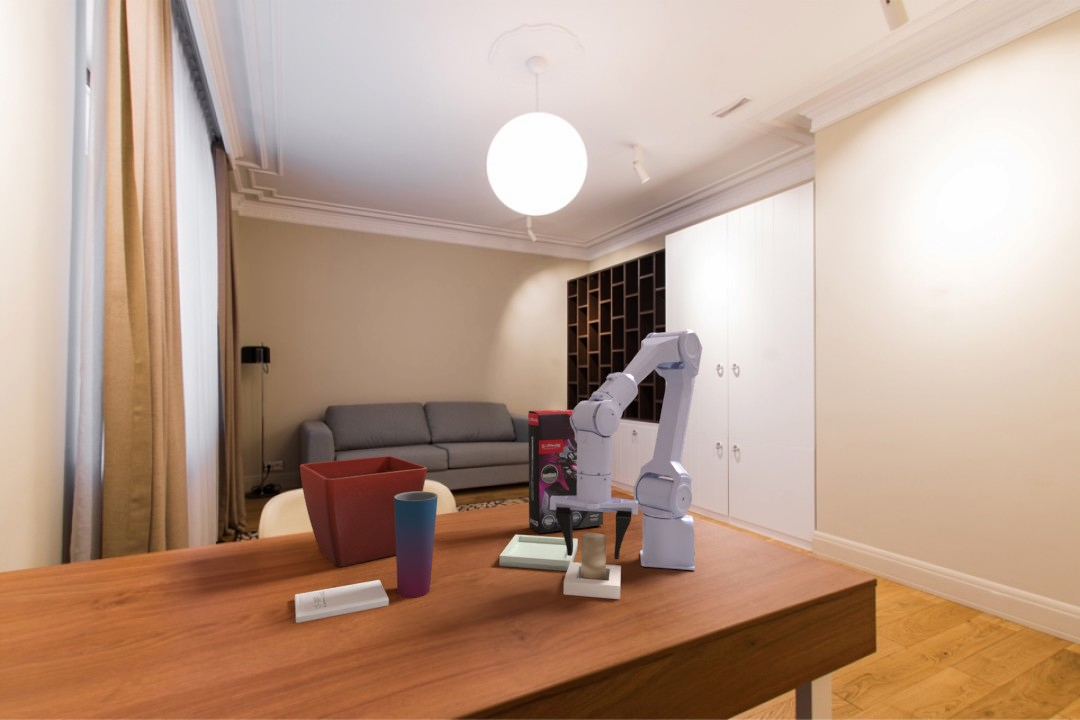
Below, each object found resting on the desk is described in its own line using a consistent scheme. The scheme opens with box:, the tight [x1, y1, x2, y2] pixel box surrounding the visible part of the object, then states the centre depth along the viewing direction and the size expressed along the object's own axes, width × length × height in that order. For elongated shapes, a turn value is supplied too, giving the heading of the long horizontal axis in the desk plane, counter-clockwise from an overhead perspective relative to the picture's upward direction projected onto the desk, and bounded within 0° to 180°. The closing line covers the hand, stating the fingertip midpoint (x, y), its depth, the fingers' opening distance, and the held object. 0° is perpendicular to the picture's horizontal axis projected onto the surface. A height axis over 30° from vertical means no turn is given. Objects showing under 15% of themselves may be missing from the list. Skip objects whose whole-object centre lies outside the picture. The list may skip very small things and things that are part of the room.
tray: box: [498, 534, 579, 572], centre depth 95 cm, size 13×13×2 cm
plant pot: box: [299, 455, 428, 568], centre depth 97 cm, size 19×19×17 cm
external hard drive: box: [294, 579, 390, 624], centre depth 74 cm, size 2×8×12 cm
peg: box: [580, 532, 607, 580], centre depth 81 cm, size 4×4×8 cm
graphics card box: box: [527, 409, 604, 534], centre depth 116 cm, size 17×7×27 cm, turn 115°
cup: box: [394, 490, 439, 599], centre depth 79 cm, size 7×7×15 cm
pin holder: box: [563, 561, 622, 600], centre depth 81 cm, size 9×9×2 cm
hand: (593, 555), depth 81 cm, fingers open, 7 cm apart
